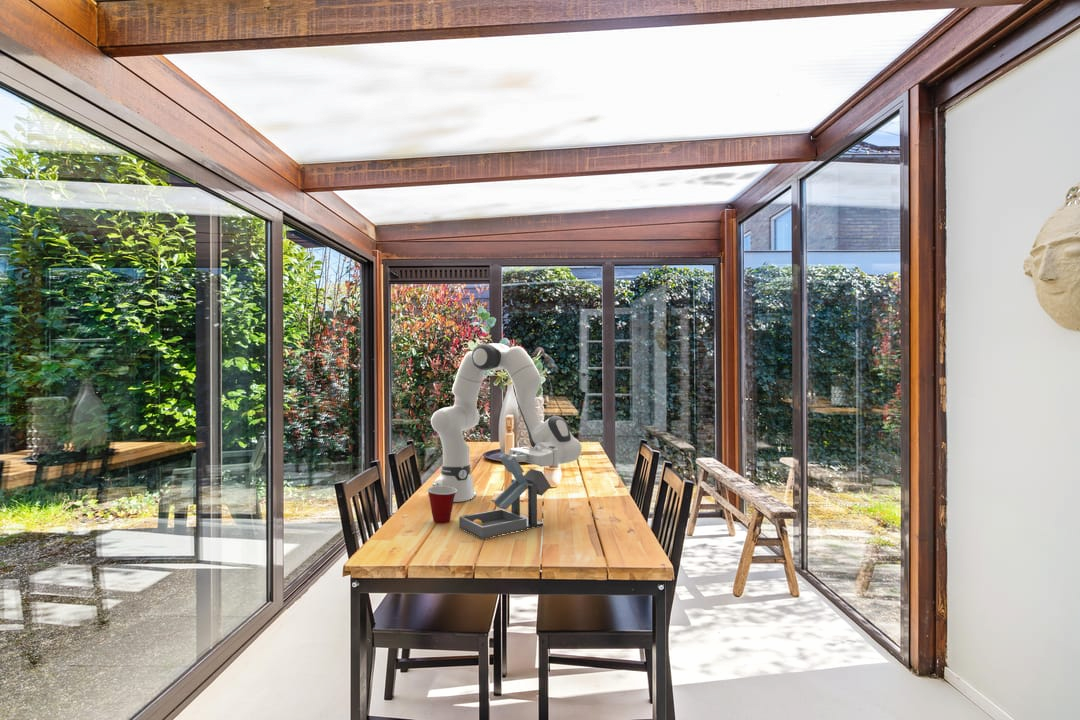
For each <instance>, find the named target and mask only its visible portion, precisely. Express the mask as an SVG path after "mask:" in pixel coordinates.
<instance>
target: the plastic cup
mask: <svg viewBox="0 0 1080 720" xmlns="http://www.w3.org/2000/svg"><path fill="white" fill-rule="evenodd" d="M426 490H427V493H429V495H428V497H429V502H430V508H431V509H430V510H431V514H432V520H433V523H435V524H447V522H448V523H450V520H451V517H452V512H453V505H454V502H453V501H454V497H455V493H456V492H457V489H455V488H453V487H447V486H434V487H432V486H430V487H428V488H427V489H426Z"/></svg>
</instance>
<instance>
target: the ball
mask: <svg viewBox="0 0 1080 720" xmlns="http://www.w3.org/2000/svg"><path fill="white" fill-rule="evenodd" d="M473 522H474V523H477V524H479V525H481V526H482V525H483V524H482V521H481V520H479V519H476V520H474V521H473Z"/></svg>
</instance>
